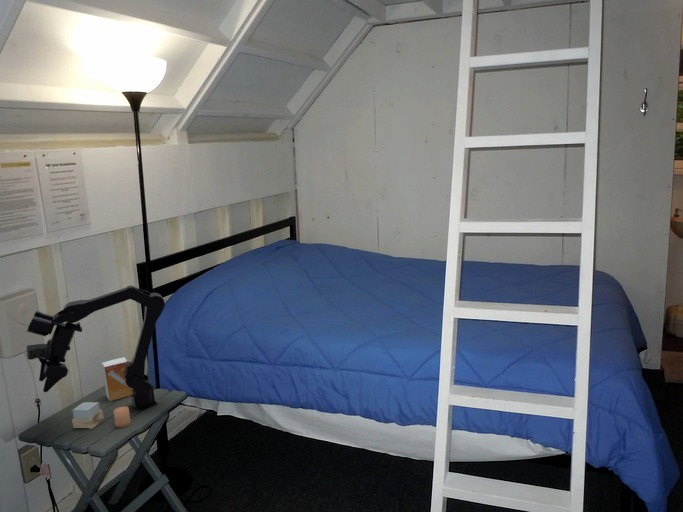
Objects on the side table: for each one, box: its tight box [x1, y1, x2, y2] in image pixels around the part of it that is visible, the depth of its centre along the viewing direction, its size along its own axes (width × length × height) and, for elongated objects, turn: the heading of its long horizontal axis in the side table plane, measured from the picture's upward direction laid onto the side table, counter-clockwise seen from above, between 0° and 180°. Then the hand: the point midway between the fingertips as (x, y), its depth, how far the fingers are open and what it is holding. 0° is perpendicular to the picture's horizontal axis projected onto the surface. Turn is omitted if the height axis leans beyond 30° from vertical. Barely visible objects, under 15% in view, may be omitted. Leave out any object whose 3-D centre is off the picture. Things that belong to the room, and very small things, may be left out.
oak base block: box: [71, 409, 105, 430], centre depth 178 cm, size 6×6×4 cm
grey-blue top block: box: [72, 401, 101, 419], centre depth 177 cm, size 6×6×3 cm
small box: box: [100, 356, 133, 402], centre depth 198 cm, size 8×6×13 cm
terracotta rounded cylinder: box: [113, 406, 132, 428], centre depth 175 cm, size 4×4×5 cm
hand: (42, 386), depth 175 cm, fingers open, 9 cm apart
